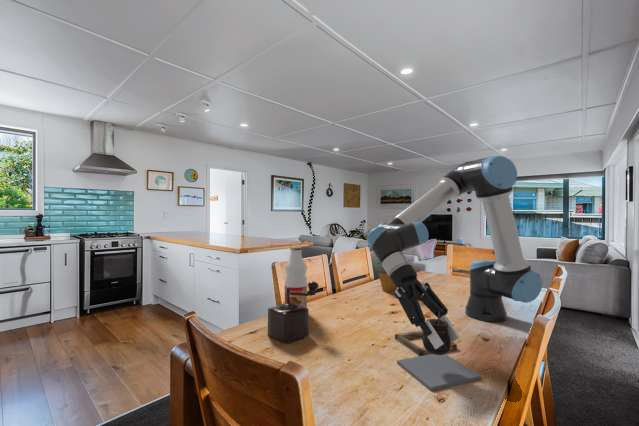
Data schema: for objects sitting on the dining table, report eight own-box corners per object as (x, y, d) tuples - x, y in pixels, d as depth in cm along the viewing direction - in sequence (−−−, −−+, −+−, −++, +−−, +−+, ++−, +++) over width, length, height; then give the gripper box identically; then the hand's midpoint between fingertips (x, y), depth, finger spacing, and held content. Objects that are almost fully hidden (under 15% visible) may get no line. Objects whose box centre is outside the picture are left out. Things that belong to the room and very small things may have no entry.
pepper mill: (287, 345, 98) (287, 289, 97) (266, 335, 105) (267, 283, 105) (320, 331, 109) (321, 281, 109) (299, 323, 116) (300, 276, 116)
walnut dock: (428, 333, 108) (428, 329, 108) (456, 349, 95) (456, 344, 95) (394, 338, 103) (394, 334, 103) (419, 356, 91) (419, 351, 91)
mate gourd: (421, 354, 80) (421, 316, 80) (422, 343, 87) (422, 308, 87) (451, 359, 77) (451, 320, 77) (449, 347, 84) (450, 311, 85)
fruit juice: (311, 313, 128) (311, 247, 127) (293, 319, 121) (294, 248, 121) (297, 308, 134) (297, 245, 134) (280, 313, 128) (280, 246, 128)
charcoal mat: (442, 354, 92) (442, 352, 92) (481, 378, 78) (481, 375, 78) (396, 363, 86) (396, 360, 86) (430, 390, 73) (430, 387, 73)
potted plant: (373, 294, 158) (373, 236, 157) (372, 286, 176) (373, 234, 176) (408, 296, 155) (409, 237, 154) (404, 287, 173) (405, 234, 173)
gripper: (413, 274, 100) (459, 340, 87) (370, 281, 89) (415, 359, 76) (427, 260, 96) (478, 328, 83) (383, 266, 85) (434, 345, 71)
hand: (447, 343), depth 79 cm, fingers closed on mate gourd, 7 cm apart
